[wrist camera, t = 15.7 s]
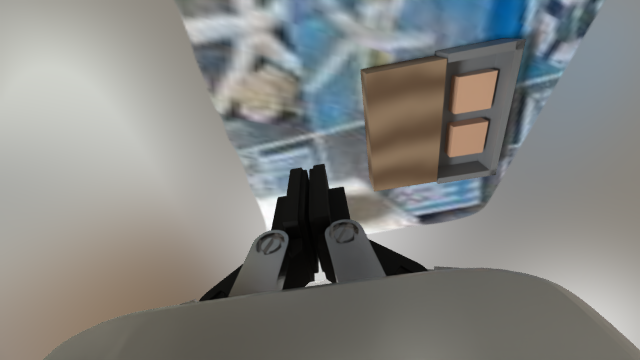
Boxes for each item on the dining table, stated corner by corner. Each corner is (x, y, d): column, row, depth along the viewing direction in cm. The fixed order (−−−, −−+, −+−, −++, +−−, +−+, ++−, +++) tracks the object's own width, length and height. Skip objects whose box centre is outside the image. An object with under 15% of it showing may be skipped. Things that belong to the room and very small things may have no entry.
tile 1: (488, 121, 36) (480, 117, 38) (453, 127, 37) (447, 122, 38) (482, 152, 39) (475, 147, 41) (450, 157, 39) (444, 152, 41)
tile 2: (497, 70, 33) (488, 68, 34) (459, 77, 33) (451, 75, 35) (490, 108, 35) (482, 104, 37) (454, 114, 36) (448, 110, 37)
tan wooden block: (360, 69, 35) (365, 74, 31) (433, 55, 34) (447, 58, 31) (369, 178, 44) (374, 191, 40) (426, 169, 43) (436, 181, 40)
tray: (435, 51, 34) (449, 53, 30) (503, 38, 33) (525, 39, 30) (427, 171, 43) (437, 183, 40) (480, 163, 43) (495, 174, 39)
